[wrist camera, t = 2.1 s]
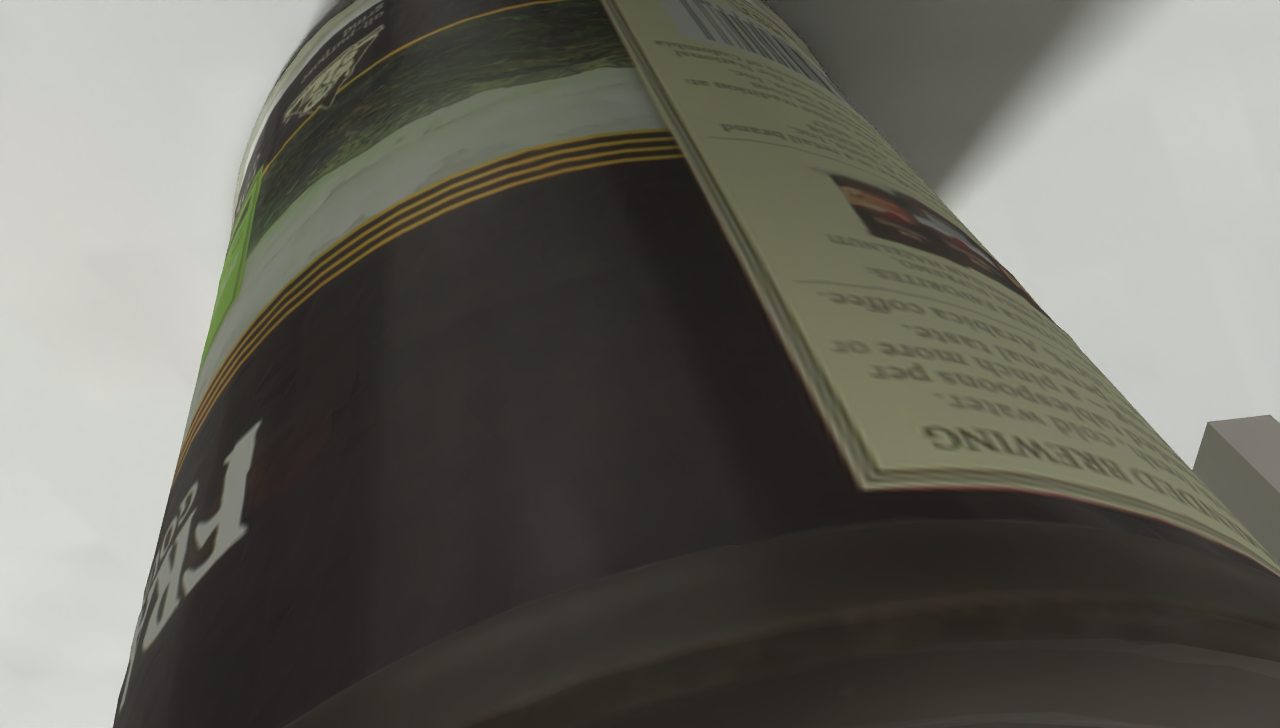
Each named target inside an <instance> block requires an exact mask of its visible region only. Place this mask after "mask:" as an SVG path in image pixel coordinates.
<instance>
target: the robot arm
mask: <svg viewBox="0 0 1280 728" xmlns="http://www.w3.org/2000/svg"><path fill="white" fill-rule="evenodd" d="M1193 472H1194V473H1195V474H1196V475H1197V476H1198V478H1199V479H1200V480H1201V481H1202V482H1203V483H1204V484H1205V485H1206V486H1207V487H1208V488H1209V489H1210V490H1211V492H1212V493H1213V494H1214V495H1215V496H1216V497H1217V498H1218V499H1219V500H1220V501H1221V502H1222V503H1223V504H1224V506H1225V507H1226V508H1227V509H1228V510H1229V511H1230V512H1231V513H1232V514H1233V515H1234V516H1235V517H1236V519H1237V520H1238V521H1239V522H1240V523H1241V524H1242V525H1243V526H1244V527H1245V528H1246V529H1247V530H1248V531H1249V533H1250V534H1251V535H1252V536H1253V537H1254V538H1255V539H1256V540H1257V541H1258V542H1259V543H1260V544H1261V545H1262V547H1263V548H1264V549H1265V550H1266V551H1267V552H1268V553H1269V554H1270V555H1271V556H1272V557H1273V558H1274V559H1275V561H1276V562H1277V563H1278V564H1279V565H1280V423H1278V422H1277V421H1276V420H1275V419H1274V418H1273V417H1272V416H1271V415H1264V416H1256V417H1247V418H1238V419H1230V420H1221V421H1212V422H1208V423H1207V426H1206V429H1205V432H1204V435H1203V439H1202V442H1201V445H1200V448H1199V451H1198V455H1197V458H1196V461H1195V464H1194V467H1193Z"/></svg>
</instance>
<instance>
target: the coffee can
mask: <svg viewBox="0 0 1280 728" xmlns="http://www.w3.org/2000/svg"><path fill="white" fill-rule="evenodd" d="M113 728H1280V565H1279V564H1278V563H1277V562H1276V561H1275V559H1274V558H1273V557H1272V556H1271V555H1270V554H1269V553H1268V552H1267V551H1266V550H1265V549H1264V548H1263V547H1262V545H1261V544H1260V543H1259V542H1258V541H1257V540H1256V539H1255V538H1254V537H1253V536H1252V535H1251V534H1250V533H1249V531H1248V530H1247V529H1246V528H1245V527H1244V526H1243V525H1242V524H1241V523H1240V522H1239V521H1238V520H1237V519H1236V517H1235V516H1234V515H1233V514H1232V513H1231V512H1230V511H1229V510H1228V509H1227V508H1226V507H1225V506H1224V504H1223V503H1222V502H1221V501H1220V500H1219V499H1218V498H1217V497H1216V496H1215V495H1214V494H1213V493H1212V492H1211V490H1210V489H1209V488H1208V487H1207V486H1206V485H1205V484H1204V483H1203V482H1202V481H1201V480H1200V479H1199V478H1198V476H1197V475H1196V474H1195V473H1194V472H1193V471H1192V470H1191V469H1190V468H1189V467H1188V466H1187V465H1186V464H1185V462H1184V461H1183V460H1182V459H1181V458H1180V457H1179V456H1178V455H1177V454H1176V453H1175V452H1174V451H1173V450H1172V448H1171V447H1170V446H1169V445H1168V444H1167V443H1166V442H1165V441H1164V440H1163V439H1162V438H1161V437H1160V436H1159V434H1158V433H1157V432H1156V431H1155V430H1154V429H1153V428H1152V427H1151V426H1150V425H1149V424H1148V423H1147V421H1146V420H1145V419H1144V418H1143V417H1142V416H1141V415H1140V414H1139V413H1138V412H1137V410H1136V409H1135V408H1134V407H1133V406H1132V405H1131V404H1130V403H1129V402H1128V401H1127V399H1126V398H1125V397H1124V396H1123V395H1122V394H1121V393H1120V392H1119V391H1118V389H1117V388H1116V387H1115V386H1114V385H1113V384H1112V383H1111V382H1110V381H1109V380H1108V379H1107V378H1106V376H1105V375H1104V374H1103V373H1102V372H1101V371H1100V370H1099V369H1098V368H1097V367H1096V366H1095V365H1094V364H1093V363H1092V362H1091V360H1090V359H1089V358H1088V357H1087V356H1086V355H1085V354H1084V353H1083V352H1082V351H1081V349H1080V348H1079V347H1078V346H1077V344H1076V343H1075V342H1074V341H1073V339H1072V338H1071V337H1070V336H1069V335H1068V334H1067V333H1066V332H1065V331H1063V330H1062V329H1061V328H1060V327H1059V326H1058V325H1056V324H1055V323H1054V321H1053V320H1052V319H1051V318H1050V317H1049V316H1048V315H1047V314H1046V313H1045V312H1044V311H1043V310H1042V309H1041V308H1040V307H1039V305H1038V304H1037V303H1036V302H1035V301H1034V300H1033V298H1032V297H1031V296H1030V295H1029V294H1028V293H1027V292H1026V290H1025V289H1024V288H1023V287H1022V286H1021V285H1020V283H1019V282H1018V281H1017V280H1016V279H1015V277H1014V276H1013V275H1012V274H1011V273H1010V272H1009V271H1008V270H1006V269H1005V268H1004V267H1003V266H1002V265H1001V264H1000V263H999V262H998V261H997V260H996V259H995V258H994V257H993V256H992V255H991V253H990V252H989V251H988V250H987V249H986V248H985V247H984V246H983V245H982V244H981V243H980V242H979V241H978V240H977V238H976V237H975V236H974V235H973V234H972V233H971V232H970V231H969V230H968V229H967V228H966V227H965V226H964V224H963V223H962V222H961V221H960V220H959V219H958V218H957V217H956V216H955V215H954V214H953V213H952V211H951V210H950V209H949V208H948V207H947V206H946V205H945V204H944V203H943V202H942V201H941V200H940V199H939V197H938V196H937V195H936V194H935V193H934V192H933V191H932V190H931V189H930V188H929V187H928V186H927V185H926V183H925V182H924V181H923V180H922V179H921V178H920V177H919V176H918V175H917V174H916V173H915V172H914V171H913V170H912V169H911V168H910V166H909V165H908V164H907V163H906V162H905V161H904V160H903V159H902V158H901V157H900V156H899V155H898V153H897V152H896V151H895V150H894V149H893V148H892V147H891V146H890V145H889V144H888V143H887V141H886V140H885V139H884V138H883V137H882V136H881V135H880V134H879V133H878V131H877V130H876V129H875V128H874V127H873V126H872V125H871V124H870V123H869V121H868V120H867V119H866V118H865V117H864V116H863V115H862V114H861V113H860V112H859V111H858V110H857V109H856V108H855V107H854V106H853V104H852V103H851V102H850V101H849V100H848V99H847V98H846V97H845V96H844V95H843V94H842V93H841V92H840V90H839V89H838V88H837V87H836V86H835V85H834V84H833V83H832V82H831V81H830V80H829V78H828V77H827V76H826V74H825V72H824V71H823V69H822V67H821V66H820V64H819V63H818V61H817V60H816V59H815V57H814V56H813V54H812V53H811V51H810V49H809V48H808V46H807V45H806V43H805V42H804V41H802V40H801V39H800V38H799V37H798V36H797V35H796V34H795V33H794V32H793V31H792V30H791V28H790V27H789V26H788V25H787V24H786V23H785V22H784V21H783V20H782V19H781V18H780V17H779V16H778V15H777V14H775V13H774V12H773V11H772V10H771V9H770V8H769V7H767V6H766V5H765V4H764V3H763V2H762V1H760V0H355V1H354V2H353V3H351V4H350V5H349V6H347V7H346V8H345V9H344V10H342V11H341V12H340V13H338V14H337V15H336V16H334V17H333V18H332V19H331V20H329V21H328V22H327V23H326V24H325V25H324V26H323V27H322V28H321V29H320V30H319V31H318V32H317V33H316V34H315V35H314V36H313V37H312V38H311V39H310V40H309V41H308V42H307V43H306V45H305V46H304V47H303V48H302V49H301V50H300V51H299V53H298V55H297V56H296V58H295V59H294V60H293V61H292V63H291V64H290V65H289V66H288V68H287V69H286V70H285V72H284V73H283V75H282V76H281V78H280V79H279V81H278V82H277V84H276V85H275V87H274V88H273V90H272V92H271V94H270V96H269V97H268V99H267V101H266V103H265V105H264V107H263V109H262V111H261V113H260V115H259V117H258V119H257V122H256V124H255V126H254V128H253V130H252V133H251V136H250V139H249V142H248V144H247V147H246V151H245V154H244V157H243V160H242V163H241V166H240V170H239V176H238V182H237V187H236V193H235V199H234V206H233V218H232V230H231V237H230V242H229V246H228V250H227V254H226V258H225V263H224V267H223V271H222V275H221V278H220V282H219V288H218V293H217V298H216V302H215V306H214V311H213V315H212V319H211V324H210V328H209V332H208V336H207V340H206V343H205V347H204V351H203V355H202V359H201V364H200V369H199V373H198V378H197V383H196V387H195V391H194V394H193V398H192V402H191V407H190V411H189V415H188V420H187V424H186V428H185V433H184V437H183V441H182V446H181V450H180V454H179V458H178V462H177V466H176V470H175V474H174V478H173V482H172V486H171V490H170V494H169V498H168V502H167V506H166V510H165V514H164V518H163V522H162V526H161V530H160V534H159V538H158V543H157V547H156V551H155V555H154V559H153V563H152V566H151V570H150V573H149V577H148V580H147V584H146V587H145V591H144V598H143V604H142V610H141V613H140V615H139V618H138V622H137V626H136V630H135V634H134V638H133V642H132V646H131V652H130V658H129V664H128V668H127V672H126V675H125V678H124V681H123V685H122V688H121V691H120V695H119V698H118V704H117V709H116V714H115V720H114V725H113Z"/></svg>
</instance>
